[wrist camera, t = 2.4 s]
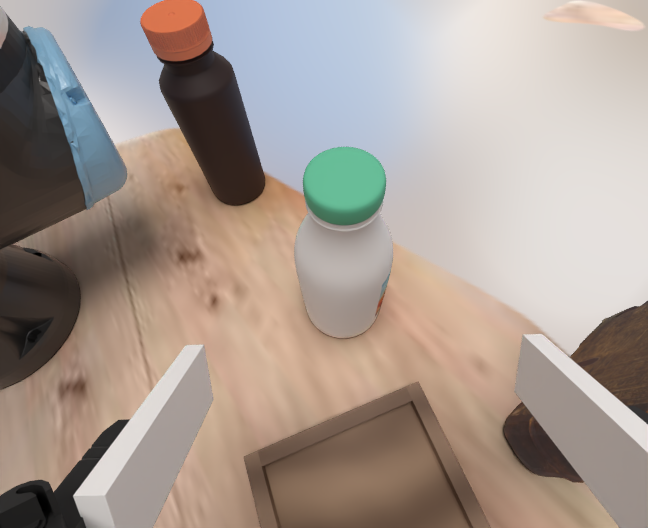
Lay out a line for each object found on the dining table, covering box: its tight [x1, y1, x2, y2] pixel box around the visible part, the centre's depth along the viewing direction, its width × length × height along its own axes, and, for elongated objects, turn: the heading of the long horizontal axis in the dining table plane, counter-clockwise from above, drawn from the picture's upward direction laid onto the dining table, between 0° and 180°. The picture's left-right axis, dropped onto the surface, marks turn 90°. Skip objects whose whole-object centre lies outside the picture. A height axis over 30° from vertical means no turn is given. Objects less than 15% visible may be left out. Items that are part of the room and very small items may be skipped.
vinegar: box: [141, 0, 265, 205], centre depth 35 cm, size 7×7×20 cm
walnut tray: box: [244, 382, 491, 528], centre depth 27 cm, size 16×16×2 cm
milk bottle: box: [294, 147, 393, 338], centre depth 27 cm, size 8×8×20 cm
